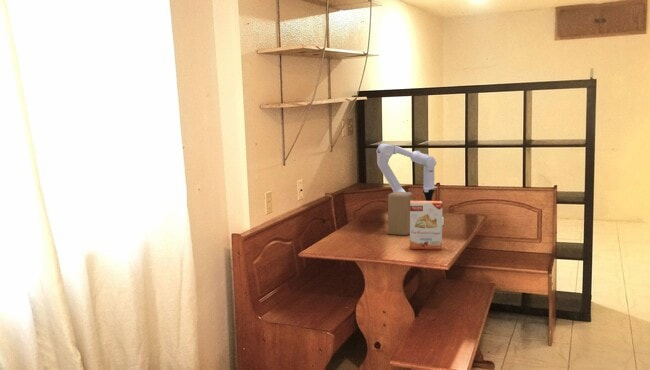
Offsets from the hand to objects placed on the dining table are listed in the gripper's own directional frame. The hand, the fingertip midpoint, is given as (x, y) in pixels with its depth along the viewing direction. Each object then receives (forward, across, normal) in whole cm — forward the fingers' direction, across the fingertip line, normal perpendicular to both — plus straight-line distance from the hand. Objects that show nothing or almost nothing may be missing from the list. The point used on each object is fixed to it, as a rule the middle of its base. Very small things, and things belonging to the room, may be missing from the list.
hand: (428, 203), depth 319 cm
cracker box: (+10, -60, -11) cm, 62 cm away
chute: (+9, -19, -5) cm, 22 cm away
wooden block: (+10, -34, +7) cm, 36 cm away
